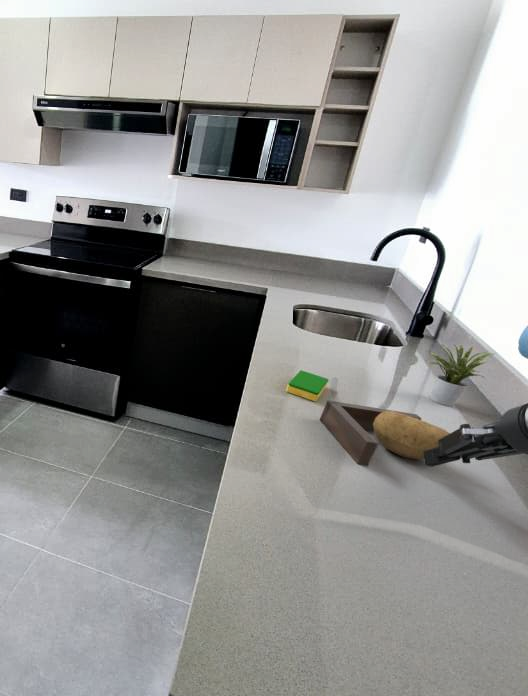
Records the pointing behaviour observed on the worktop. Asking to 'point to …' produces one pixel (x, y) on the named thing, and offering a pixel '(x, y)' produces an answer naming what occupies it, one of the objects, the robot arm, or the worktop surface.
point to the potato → (406, 434)
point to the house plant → (454, 376)
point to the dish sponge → (307, 385)
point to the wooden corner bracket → (354, 427)
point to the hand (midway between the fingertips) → (428, 459)
